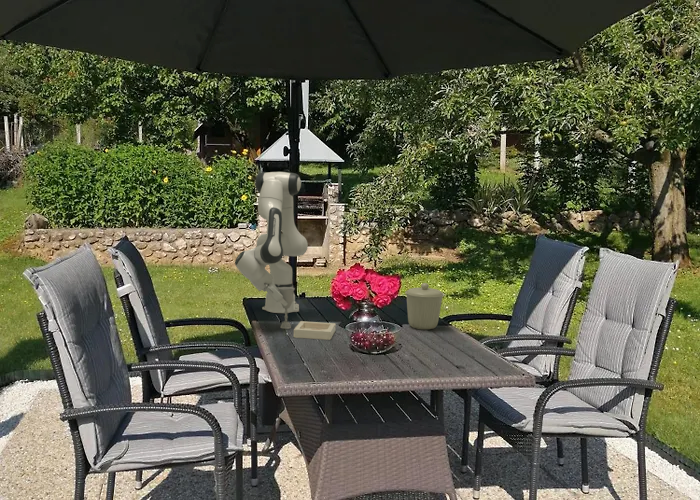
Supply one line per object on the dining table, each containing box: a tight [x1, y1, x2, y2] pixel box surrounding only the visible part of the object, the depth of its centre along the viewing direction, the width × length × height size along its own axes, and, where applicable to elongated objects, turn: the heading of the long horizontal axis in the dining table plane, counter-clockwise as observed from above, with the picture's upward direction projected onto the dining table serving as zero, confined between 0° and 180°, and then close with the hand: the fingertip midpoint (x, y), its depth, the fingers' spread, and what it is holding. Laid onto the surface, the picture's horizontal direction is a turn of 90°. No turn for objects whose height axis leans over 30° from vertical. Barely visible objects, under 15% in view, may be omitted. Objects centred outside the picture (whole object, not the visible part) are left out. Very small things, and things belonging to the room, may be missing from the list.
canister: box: [404, 282, 445, 331], centre depth 321 cm, size 18×18×21 cm
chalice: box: [279, 287, 296, 330], centre depth 312 cm, size 7×7×18 cm
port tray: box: [293, 320, 337, 341], centre depth 302 cm, size 16×16×4 cm
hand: (284, 302), depth 311 cm, fingers open, 8 cm apart
